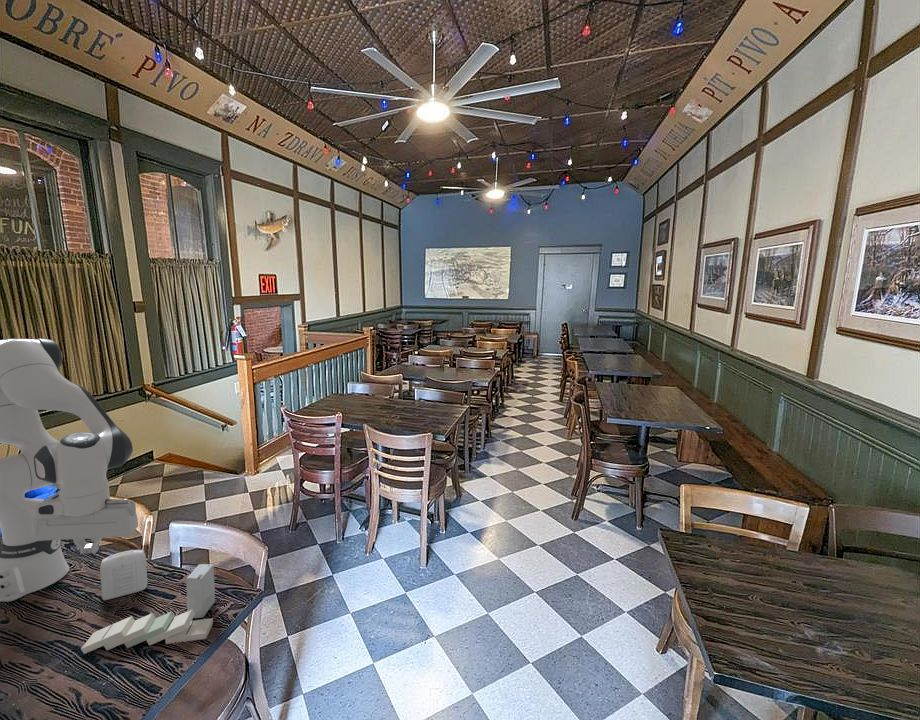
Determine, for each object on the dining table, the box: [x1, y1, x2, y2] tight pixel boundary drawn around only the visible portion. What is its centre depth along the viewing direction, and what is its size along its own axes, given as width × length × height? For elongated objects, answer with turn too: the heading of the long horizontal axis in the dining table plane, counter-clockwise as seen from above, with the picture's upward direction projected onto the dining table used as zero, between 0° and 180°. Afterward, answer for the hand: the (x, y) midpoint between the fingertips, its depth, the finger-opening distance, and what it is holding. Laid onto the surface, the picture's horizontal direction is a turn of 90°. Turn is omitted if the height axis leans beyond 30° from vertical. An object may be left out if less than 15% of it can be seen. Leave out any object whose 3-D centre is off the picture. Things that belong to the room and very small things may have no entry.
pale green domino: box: [123, 611, 175, 649], centre depth 102 cm, size 2×5×9 cm
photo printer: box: [99, 549, 148, 601], centre depth 117 cm, size 10×4×12 cm, turn 123°
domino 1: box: [80, 615, 136, 655], centre depth 100 cm, size 2×5×9 cm
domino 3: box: [146, 610, 195, 646], centre depth 103 cm, size 2×5×9 cm
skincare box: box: [185, 563, 216, 619], centre depth 111 cm, size 6×4×12 cm
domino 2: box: [103, 612, 157, 651], centre depth 102 cm, size 2×5×9 cm
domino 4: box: [164, 617, 214, 645], centre depth 105 cm, size 2×5×9 cm
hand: (89, 552), depth 100 cm, fingers closed
